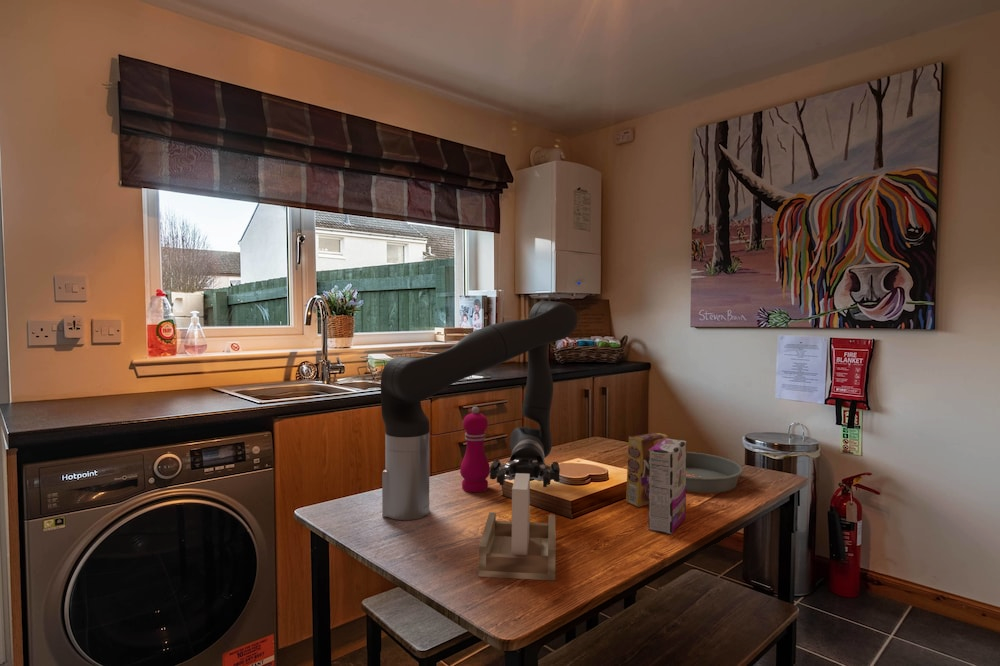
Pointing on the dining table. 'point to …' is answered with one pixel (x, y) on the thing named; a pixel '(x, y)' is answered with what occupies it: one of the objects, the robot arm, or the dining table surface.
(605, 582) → the dining table surface
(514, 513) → the place card sign
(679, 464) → the candy bar box
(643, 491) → the candy box
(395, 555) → the dining table surface
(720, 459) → the cake pan
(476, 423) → the pepper mill
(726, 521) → the dining table surface
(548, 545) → the brown wooden tray
